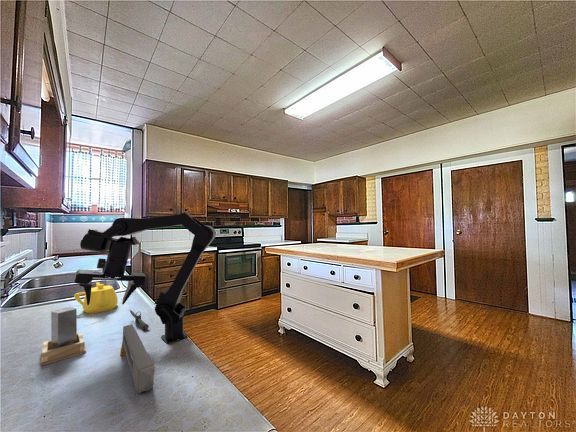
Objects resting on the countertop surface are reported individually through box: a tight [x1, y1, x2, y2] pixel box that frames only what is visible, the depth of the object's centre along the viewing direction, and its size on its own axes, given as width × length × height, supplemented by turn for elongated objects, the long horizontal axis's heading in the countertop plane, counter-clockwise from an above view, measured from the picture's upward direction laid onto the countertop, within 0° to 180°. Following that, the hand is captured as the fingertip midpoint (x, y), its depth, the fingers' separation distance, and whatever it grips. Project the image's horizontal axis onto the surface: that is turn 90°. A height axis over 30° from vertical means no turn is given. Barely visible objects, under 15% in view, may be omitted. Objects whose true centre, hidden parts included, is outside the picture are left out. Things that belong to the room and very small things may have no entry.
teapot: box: [73, 281, 119, 315], centre depth 114 cm, size 22×16×11 cm
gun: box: [119, 323, 155, 394], centre depth 65 cm, size 3×25×15 cm, turn 43°
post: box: [50, 306, 78, 349], centre depth 76 cm, size 4×4×12 cm
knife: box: [129, 309, 150, 331], centre depth 95 cm, size 19×2×5 cm, turn 48°
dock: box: [40, 332, 87, 366], centre depth 75 cm, size 10×10×3 cm
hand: (106, 304), depth 81 cm, fingers open, 9 cm apart
